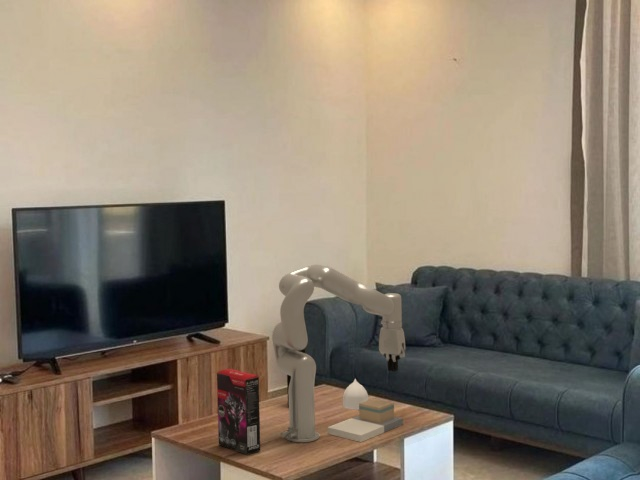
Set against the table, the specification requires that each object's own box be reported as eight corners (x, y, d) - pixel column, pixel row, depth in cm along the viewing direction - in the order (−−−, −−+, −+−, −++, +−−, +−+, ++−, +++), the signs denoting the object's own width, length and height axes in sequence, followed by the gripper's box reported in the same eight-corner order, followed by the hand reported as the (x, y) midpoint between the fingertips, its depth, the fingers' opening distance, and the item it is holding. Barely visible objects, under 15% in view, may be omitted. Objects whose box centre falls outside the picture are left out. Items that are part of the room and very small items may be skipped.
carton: (380, 423, 301) (379, 407, 301) (359, 418, 308) (359, 403, 307) (394, 417, 308) (393, 402, 308) (373, 413, 315) (373, 398, 314)
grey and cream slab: (361, 442, 288) (360, 435, 288) (327, 433, 298) (327, 427, 298) (402, 424, 307) (402, 418, 307) (369, 417, 318) (369, 411, 318)
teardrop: (339, 409, 331) (338, 380, 330) (346, 401, 341) (346, 374, 340) (364, 410, 327) (364, 382, 326) (371, 403, 338) (371, 375, 337)
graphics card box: (217, 445, 288) (214, 371, 286) (232, 440, 293) (230, 367, 291) (247, 456, 276) (244, 378, 274) (262, 451, 281) (260, 375, 279)
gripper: (370, 324, 316) (371, 369, 317) (402, 328, 306) (403, 375, 307) (382, 321, 322) (382, 366, 323) (413, 325, 311) (414, 371, 313)
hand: (392, 370), depth 315 cm, fingers closed
